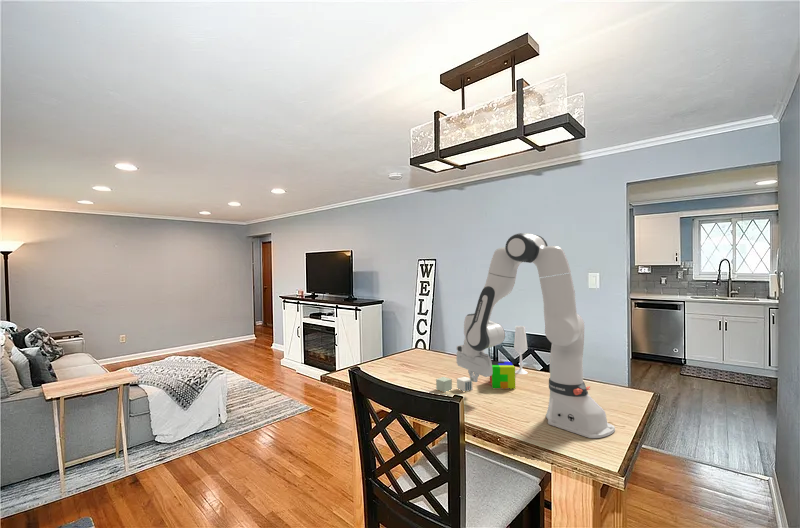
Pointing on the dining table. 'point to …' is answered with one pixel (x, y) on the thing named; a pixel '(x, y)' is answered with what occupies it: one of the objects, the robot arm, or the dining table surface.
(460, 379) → the letter block
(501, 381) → the puzzle toy
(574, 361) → the robot arm
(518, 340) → the champagne flute
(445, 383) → the sage block
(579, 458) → the dining table surface
